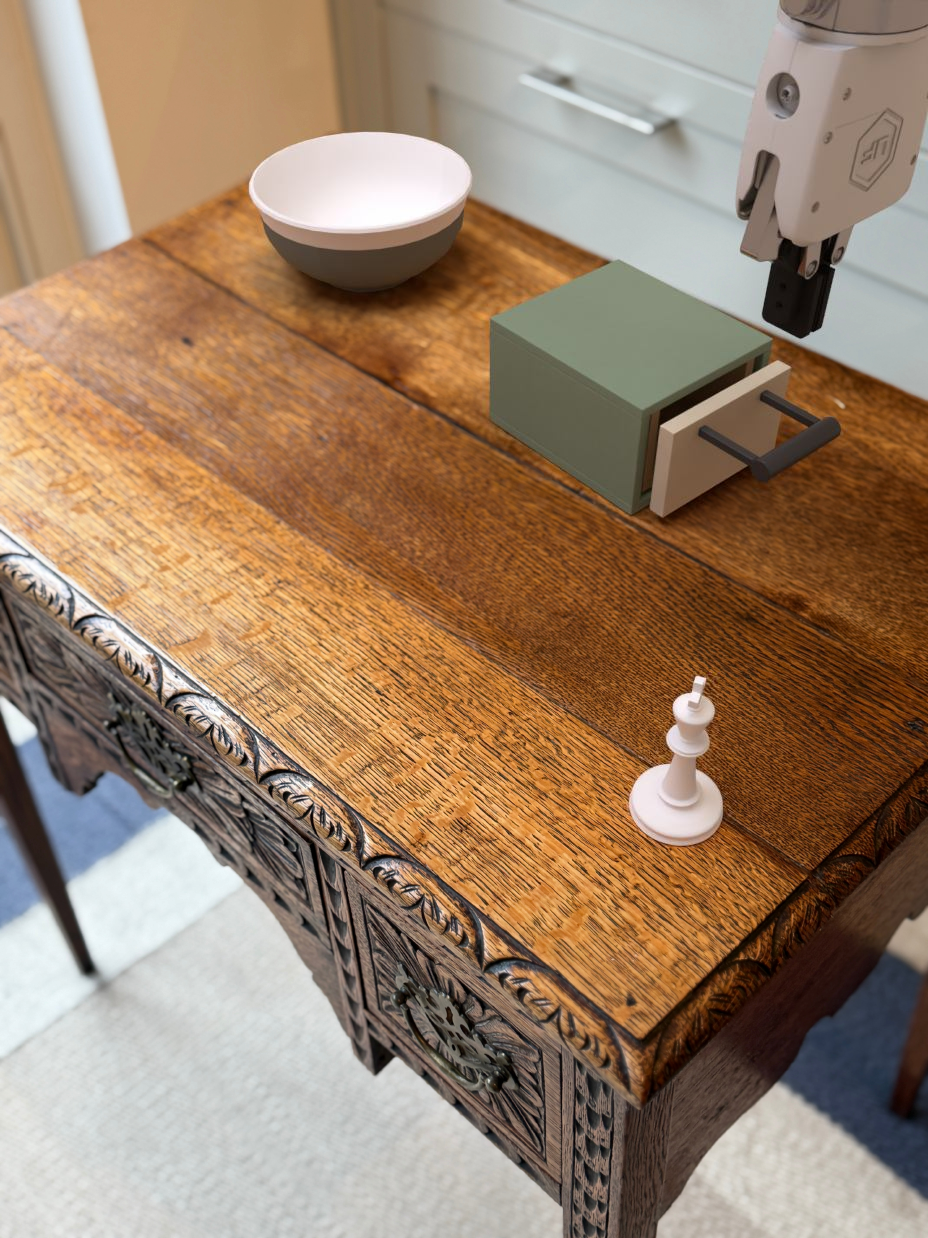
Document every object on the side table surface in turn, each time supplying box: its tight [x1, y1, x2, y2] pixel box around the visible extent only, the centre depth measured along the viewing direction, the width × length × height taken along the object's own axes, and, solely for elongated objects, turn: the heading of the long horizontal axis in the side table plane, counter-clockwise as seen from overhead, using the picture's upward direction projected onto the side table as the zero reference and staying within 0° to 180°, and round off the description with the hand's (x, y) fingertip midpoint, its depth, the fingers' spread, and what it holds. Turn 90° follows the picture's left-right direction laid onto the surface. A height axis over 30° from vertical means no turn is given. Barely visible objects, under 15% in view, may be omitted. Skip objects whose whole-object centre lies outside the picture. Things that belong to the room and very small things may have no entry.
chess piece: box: [628, 675, 724, 847], centre depth 59 cm, size 5×5×10 cm
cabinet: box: [489, 259, 774, 516], centre depth 83 cm, size 15×13×9 cm
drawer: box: [641, 358, 842, 519], centre depth 80 cm, size 20×11×7 cm, turn 40°
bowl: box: [248, 131, 474, 293], centre depth 101 cm, size 19×19×8 cm
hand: (790, 324), depth 69 cm, fingers closed
